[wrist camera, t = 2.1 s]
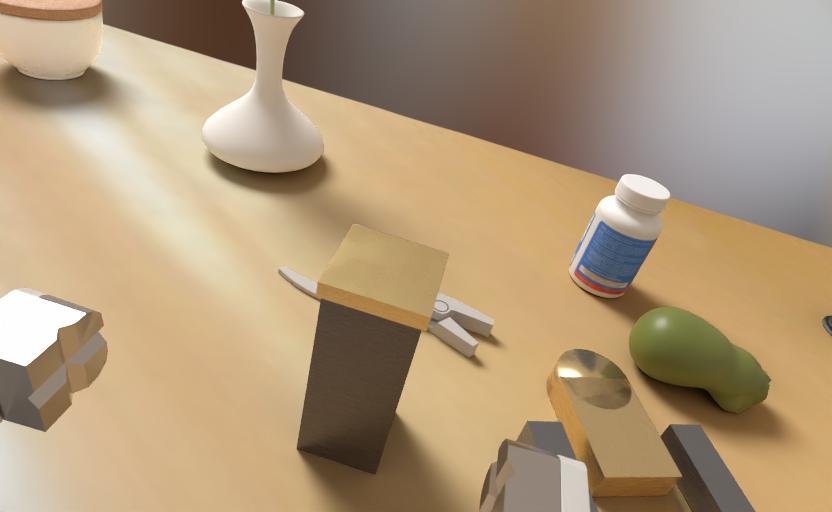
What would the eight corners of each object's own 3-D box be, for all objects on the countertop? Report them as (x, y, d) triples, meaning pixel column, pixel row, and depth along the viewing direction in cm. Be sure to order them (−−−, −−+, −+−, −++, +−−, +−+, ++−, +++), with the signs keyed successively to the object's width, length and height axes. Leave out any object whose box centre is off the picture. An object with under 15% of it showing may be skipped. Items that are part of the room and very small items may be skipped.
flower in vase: (310, 195, 49) (353, -136, 35) (182, 168, 48) (171, -187, 33) (332, 137, 60) (372, -136, 45) (228, 113, 58) (234, -174, 44)
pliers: (360, 213, 46) (513, 300, 41) (357, 229, 47) (507, 315, 42) (277, 260, 39) (452, 373, 34) (275, 277, 40) (446, 389, 35)
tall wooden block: (377, 478, 28) (431, 317, 22) (291, 450, 29) (317, 281, 22) (398, 408, 32) (449, 253, 26) (322, 384, 33) (352, 223, 26)
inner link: (537, 366, 38) (547, 347, 37) (600, 370, 39) (611, 351, 38) (589, 496, 30) (604, 477, 29) (665, 495, 32) (682, 476, 30)
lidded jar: (131, 71, 61) (124, -18, 56) (56, 98, 53) (39, -4, 47) (48, 44, 62) (33, -46, 57) (-39, 66, 54) (-67, -38, 48)
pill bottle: (635, 303, 47) (693, 209, 41) (579, 297, 46) (630, 199, 40) (611, 264, 51) (660, 174, 46) (559, 257, 50) (603, 164, 45)
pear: (656, 281, 40) (775, 343, 40) (613, 327, 43) (725, 385, 43) (664, 328, 35) (799, 398, 35) (617, 376, 38) (741, 440, 38)
